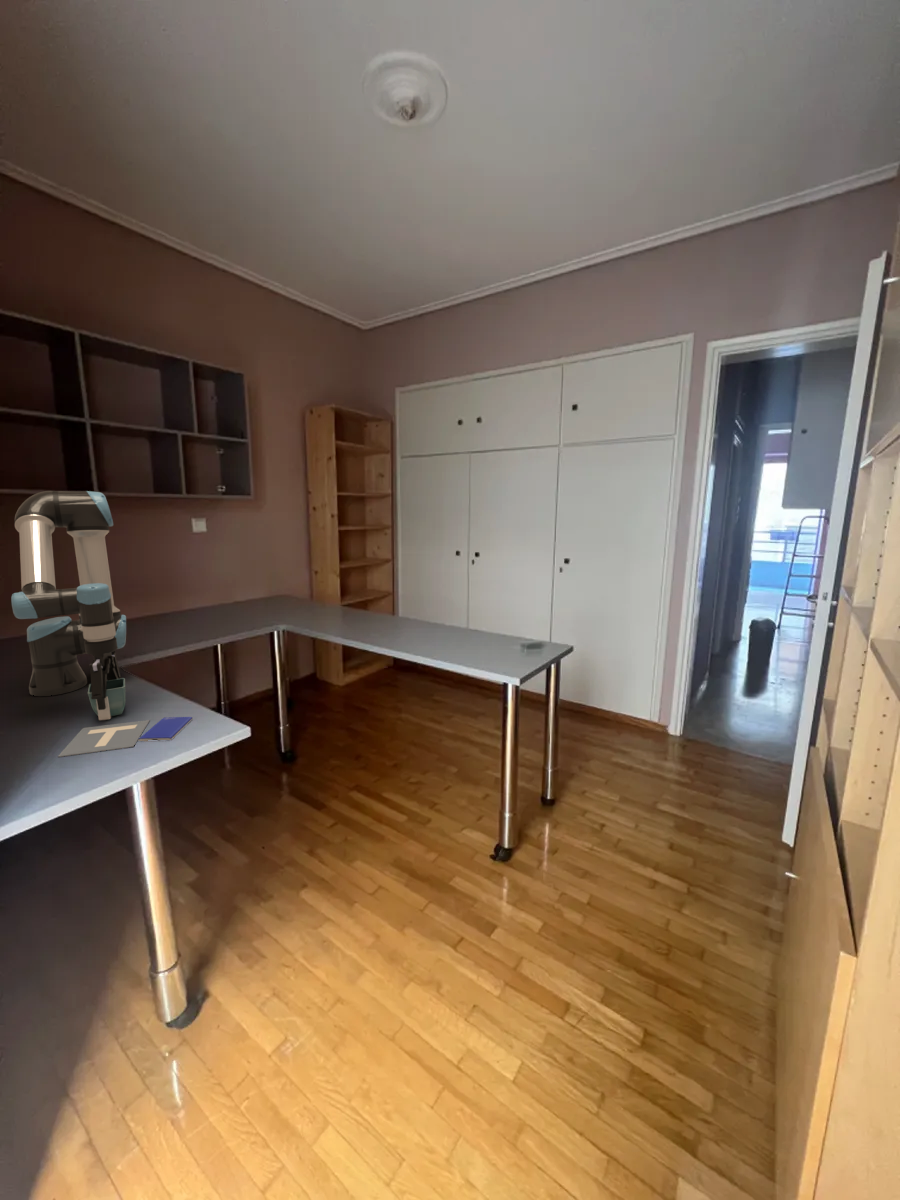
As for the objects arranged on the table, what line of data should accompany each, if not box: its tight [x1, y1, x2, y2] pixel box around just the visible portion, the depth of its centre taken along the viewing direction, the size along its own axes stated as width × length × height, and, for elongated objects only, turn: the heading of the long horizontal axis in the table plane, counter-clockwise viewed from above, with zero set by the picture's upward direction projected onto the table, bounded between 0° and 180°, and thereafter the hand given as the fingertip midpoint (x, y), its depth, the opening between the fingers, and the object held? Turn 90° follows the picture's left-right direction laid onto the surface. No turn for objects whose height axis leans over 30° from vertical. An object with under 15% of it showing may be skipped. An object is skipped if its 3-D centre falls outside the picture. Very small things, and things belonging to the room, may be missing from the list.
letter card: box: [57, 719, 151, 758], centre depth 128 cm, size 16×16×1 cm
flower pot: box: [87, 677, 127, 717], centre depth 142 cm, size 9×9×9 cm
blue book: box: [138, 716, 193, 742], centre depth 133 cm, size 2×8×12 cm
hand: (110, 711), depth 143 cm, fingers closed on flower pot, 9 cm apart
